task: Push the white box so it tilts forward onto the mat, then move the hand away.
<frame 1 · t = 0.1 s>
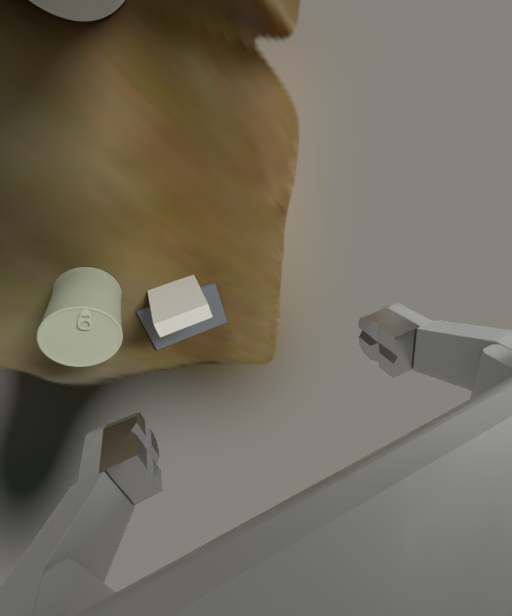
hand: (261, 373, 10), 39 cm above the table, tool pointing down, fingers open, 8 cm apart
pale green cylinder: (88, 293, 45), on the table
mat: (184, 315, 53), on the table
white box: (173, 288, 50), on the table
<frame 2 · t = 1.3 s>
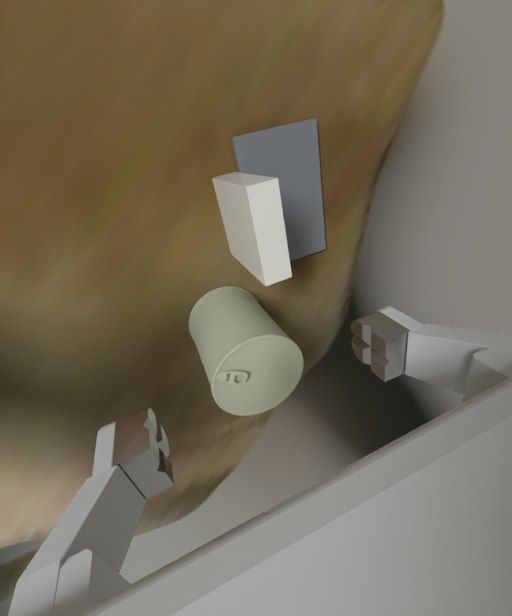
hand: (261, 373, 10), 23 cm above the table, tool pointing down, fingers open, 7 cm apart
pale green cylinder: (225, 319, 37), on the table
mat: (283, 200, 32), on the table
white box: (233, 215, 31), on the table
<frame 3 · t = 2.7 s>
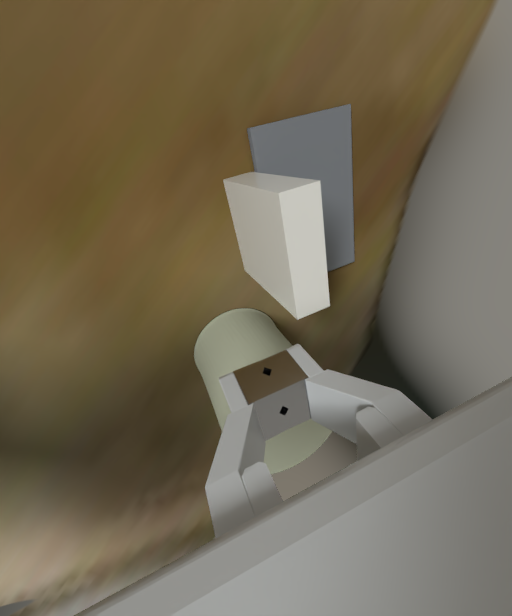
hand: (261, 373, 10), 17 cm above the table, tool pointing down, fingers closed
pale green cylinder: (236, 345, 31), on the table
mat: (307, 205, 27), on the table
white box: (248, 224, 26), on the table
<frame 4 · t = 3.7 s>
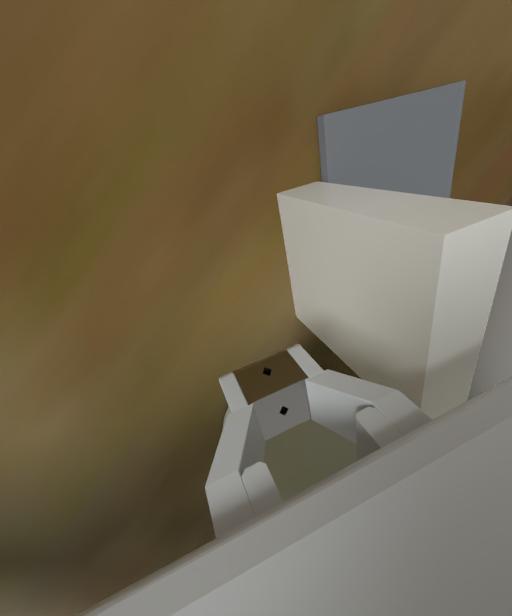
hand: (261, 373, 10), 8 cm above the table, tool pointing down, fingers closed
pale green cylinder: (277, 409, 23), on the table
mat: (386, 227, 19), on the table
white box: (305, 255, 18), on the table
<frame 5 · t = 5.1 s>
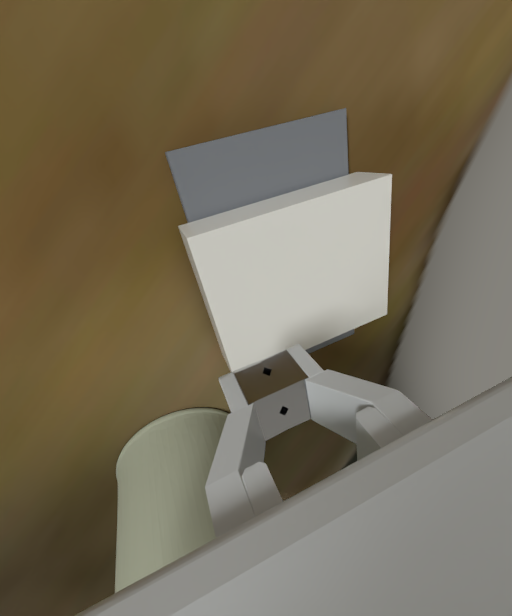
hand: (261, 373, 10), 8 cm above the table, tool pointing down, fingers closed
pale green cylinder: (184, 453, 22), on the table
mat: (281, 264, 17), on the table
white box: (208, 308, 15), point 2 cm above the table, tilted 90°, touching mat
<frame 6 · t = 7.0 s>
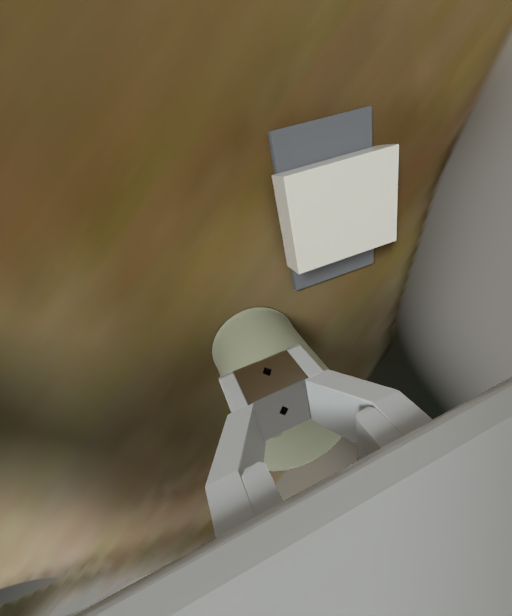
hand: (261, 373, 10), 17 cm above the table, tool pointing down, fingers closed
pale green cylinder: (253, 344, 32), on the table
mat: (326, 206, 27), on the table
white box: (285, 226, 25), point 2 cm above the table, tilted 90°, touching mat
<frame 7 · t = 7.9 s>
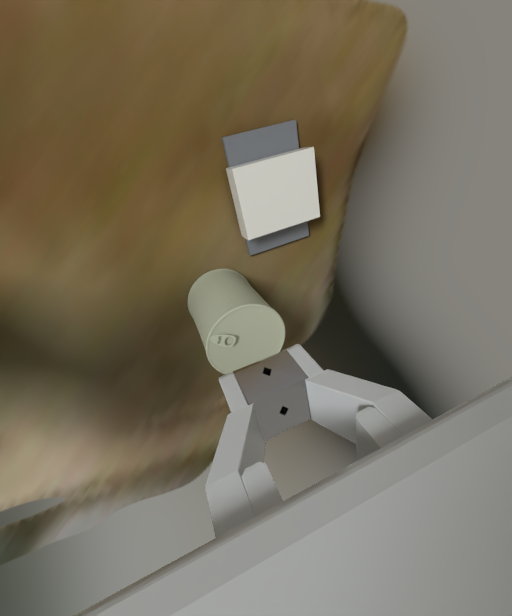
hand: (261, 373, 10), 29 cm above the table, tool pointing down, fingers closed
pale green cylinder: (220, 299, 41), on the table
mat: (269, 192, 37), on the table
white box: (237, 205, 34), point 2 cm above the table, tilted 90°, touching mat
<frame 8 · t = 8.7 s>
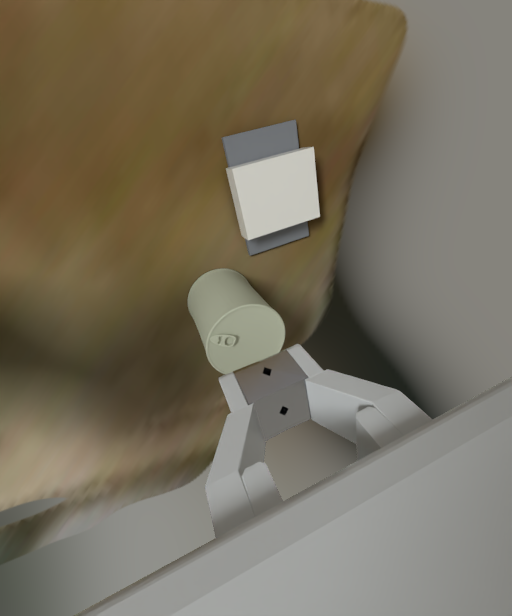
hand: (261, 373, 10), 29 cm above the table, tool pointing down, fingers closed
pale green cylinder: (220, 298, 41), on the table
mat: (269, 192, 37), on the table
white box: (237, 205, 34), point 2 cm above the table, tilted 90°, touching mat
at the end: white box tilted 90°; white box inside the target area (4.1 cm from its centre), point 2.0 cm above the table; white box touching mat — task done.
